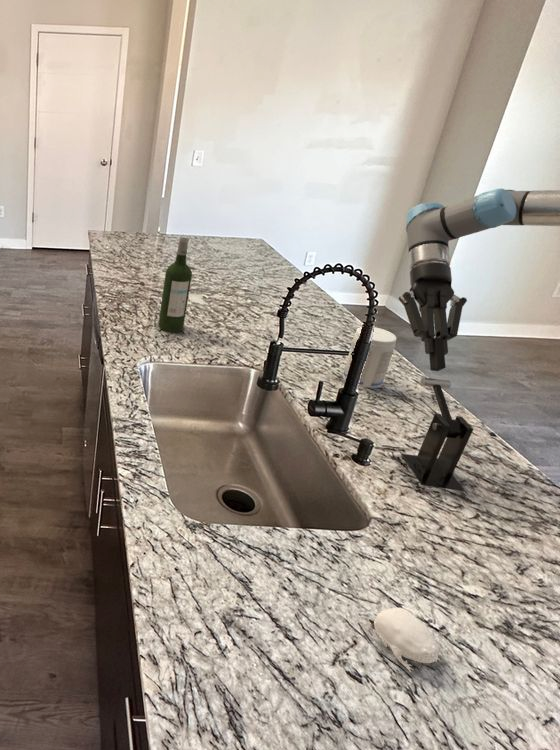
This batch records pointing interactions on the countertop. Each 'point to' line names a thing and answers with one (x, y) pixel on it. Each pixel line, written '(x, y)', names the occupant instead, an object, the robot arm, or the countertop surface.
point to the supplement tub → (374, 357)
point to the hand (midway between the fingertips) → (437, 368)
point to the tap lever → (443, 403)
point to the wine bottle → (176, 291)
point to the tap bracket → (440, 468)
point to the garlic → (406, 636)
